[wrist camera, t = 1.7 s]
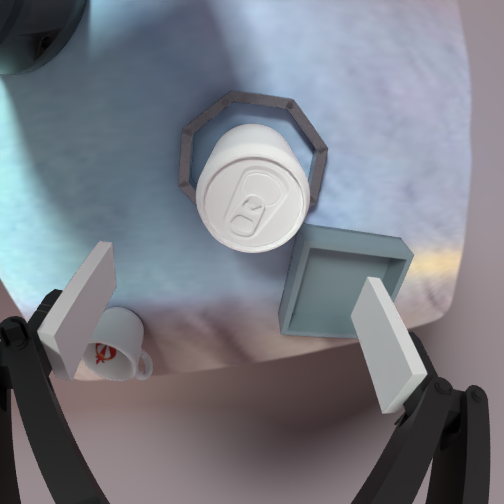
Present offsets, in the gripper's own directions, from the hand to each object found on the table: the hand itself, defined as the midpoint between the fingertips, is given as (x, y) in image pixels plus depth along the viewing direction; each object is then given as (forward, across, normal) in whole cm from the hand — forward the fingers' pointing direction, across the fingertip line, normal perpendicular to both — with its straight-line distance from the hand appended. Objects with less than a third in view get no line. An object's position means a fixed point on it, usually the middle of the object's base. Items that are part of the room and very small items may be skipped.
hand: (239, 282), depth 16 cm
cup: (+19, -13, -24) cm, 33 cm away
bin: (+19, +13, -11) cm, 26 cm away
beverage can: (+19, +1, +1) cm, 19 cm away
